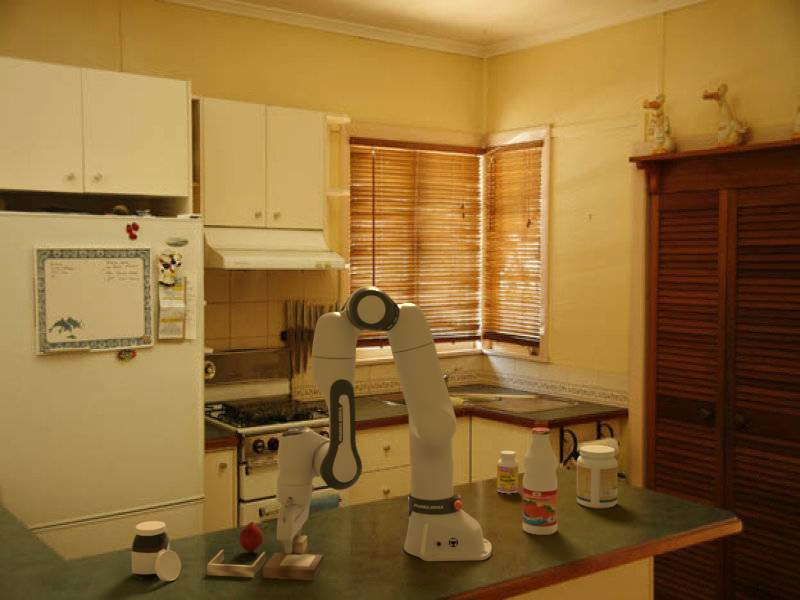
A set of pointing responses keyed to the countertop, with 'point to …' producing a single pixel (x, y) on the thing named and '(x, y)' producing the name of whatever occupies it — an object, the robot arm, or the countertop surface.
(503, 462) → the supplement bottle
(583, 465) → the supplement tub
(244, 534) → the onion
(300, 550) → the oak block
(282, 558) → the wooden tray
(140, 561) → the spread jar
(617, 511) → the countertop surface
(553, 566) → the countertop surface
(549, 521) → the fruit juice
